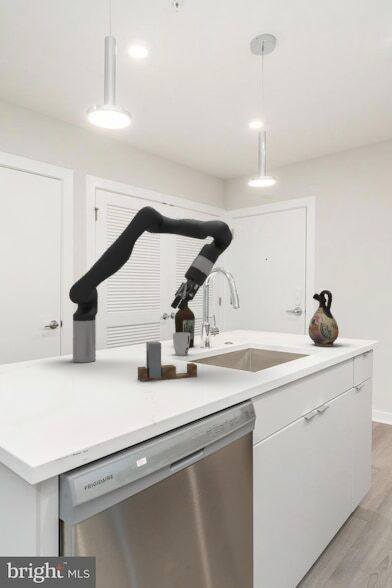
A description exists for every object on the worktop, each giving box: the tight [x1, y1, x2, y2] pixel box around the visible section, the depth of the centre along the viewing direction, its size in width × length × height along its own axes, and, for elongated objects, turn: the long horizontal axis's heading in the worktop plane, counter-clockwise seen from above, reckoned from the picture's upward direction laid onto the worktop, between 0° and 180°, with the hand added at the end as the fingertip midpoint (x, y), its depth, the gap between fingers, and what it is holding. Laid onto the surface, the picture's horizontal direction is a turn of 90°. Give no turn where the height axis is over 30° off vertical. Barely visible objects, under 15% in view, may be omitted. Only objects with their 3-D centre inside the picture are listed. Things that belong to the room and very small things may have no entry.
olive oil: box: [174, 302, 196, 349], centre depth 200 cm, size 11×11×25 cm
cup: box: [172, 332, 190, 357], centre depth 177 cm, size 8×8×10 cm
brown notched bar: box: [137, 362, 198, 382], centre depth 131 cm, size 20×4×4 cm, turn 110°
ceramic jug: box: [308, 289, 339, 347], centre depth 205 cm, size 17×15×30 cm
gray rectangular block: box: [145, 341, 162, 378], centre depth 129 cm, size 4×4×12 cm
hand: (176, 308), depth 137 cm, fingers open, 8 cm apart
